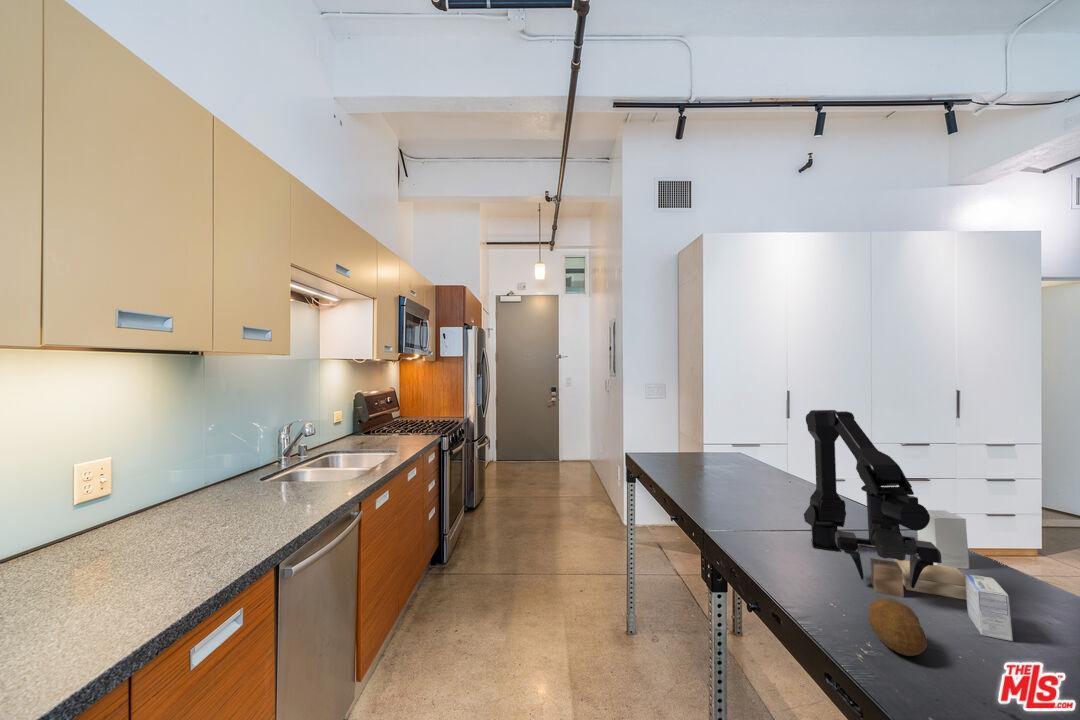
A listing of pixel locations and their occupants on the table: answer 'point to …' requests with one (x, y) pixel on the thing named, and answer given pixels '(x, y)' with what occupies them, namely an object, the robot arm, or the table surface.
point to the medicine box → (988, 607)
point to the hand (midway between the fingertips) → (886, 583)
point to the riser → (936, 580)
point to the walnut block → (886, 577)
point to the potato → (897, 626)
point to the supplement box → (947, 538)
